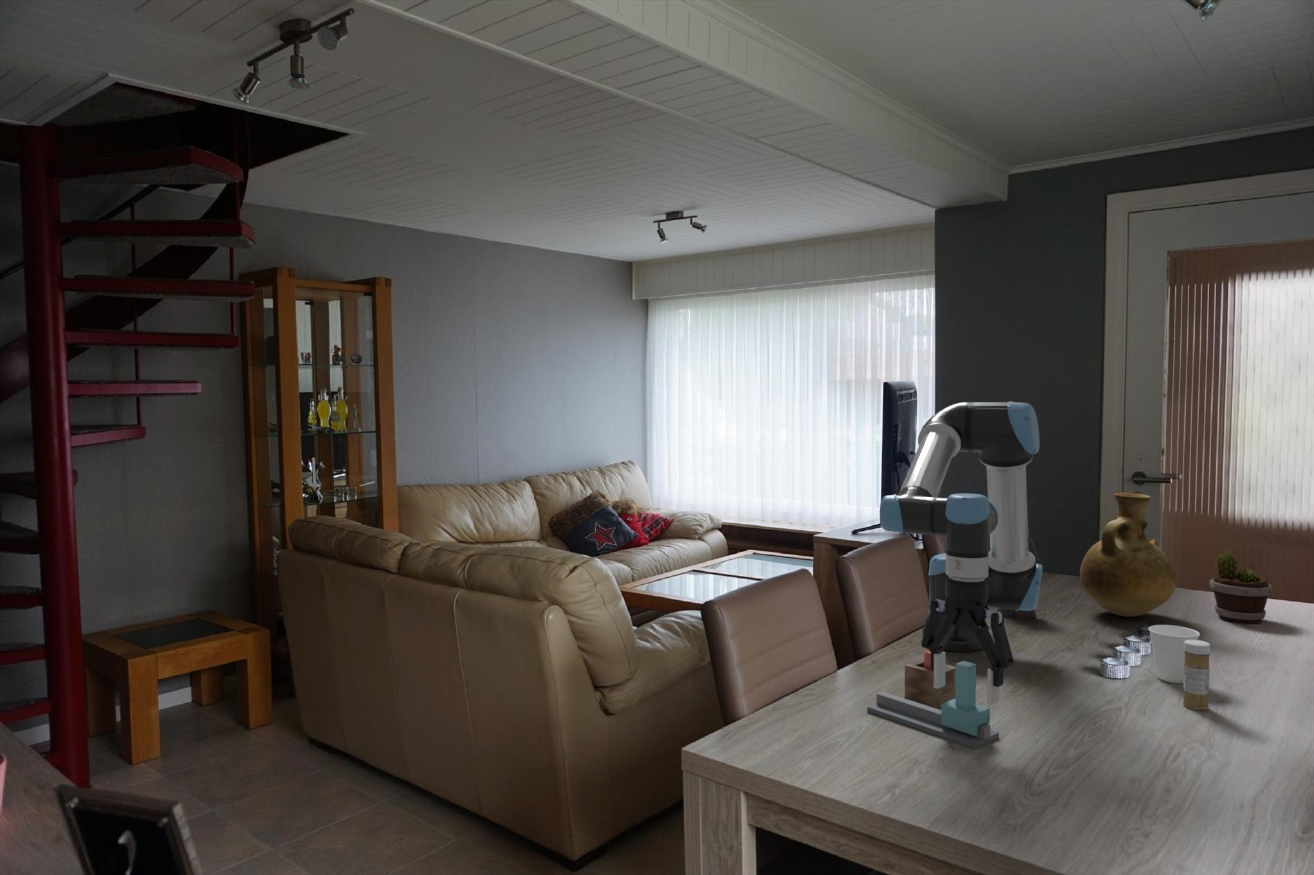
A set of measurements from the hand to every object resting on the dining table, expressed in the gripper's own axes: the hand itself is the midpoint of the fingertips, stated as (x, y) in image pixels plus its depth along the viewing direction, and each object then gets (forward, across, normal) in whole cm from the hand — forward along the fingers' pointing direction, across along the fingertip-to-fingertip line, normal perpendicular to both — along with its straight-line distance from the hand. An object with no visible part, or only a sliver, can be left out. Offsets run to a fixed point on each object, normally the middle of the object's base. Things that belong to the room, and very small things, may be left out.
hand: (965, 694), depth 163 cm
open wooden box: (+8, -16, +12) cm, 21 cm away
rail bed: (+8, -8, 0) cm, 11 cm away
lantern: (+8, -40, +91) cm, 100 cm away
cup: (+8, +12, +64) cm, 66 cm away
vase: (+8, -20, +113) cm, 115 cm away
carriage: (+6, 0, 0) cm, 6 cm away
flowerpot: (+8, +2, +133) cm, 133 cm away
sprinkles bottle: (+8, +22, +49) cm, 54 cm away
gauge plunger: (+2, -15, +12) cm, 20 cm away
